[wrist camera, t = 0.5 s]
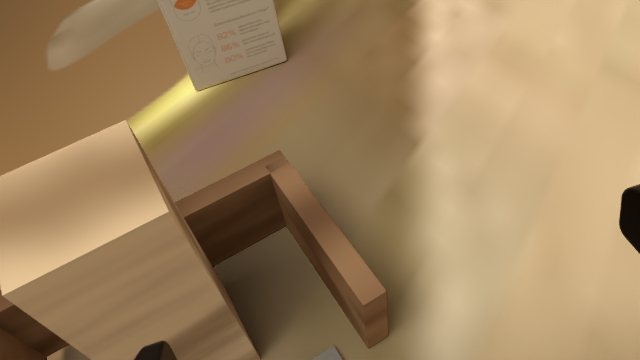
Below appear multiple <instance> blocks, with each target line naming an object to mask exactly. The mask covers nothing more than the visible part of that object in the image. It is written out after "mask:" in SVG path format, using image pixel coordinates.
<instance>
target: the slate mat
mask: <svg viewBox="0 0 640 360" xmlns="http://www.w3.org/2000/svg"><path fill="white" fill-rule="evenodd" d="M312 360H342V358H341V356H340V355H339V353H338V352H337V350H336V348H335V347H334V346H332V347H331V348H329V349H327V350H326V351H324V352H323V353H321V354H320V355H318V356H316V357H315V358H313V359H312Z"/></svg>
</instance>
